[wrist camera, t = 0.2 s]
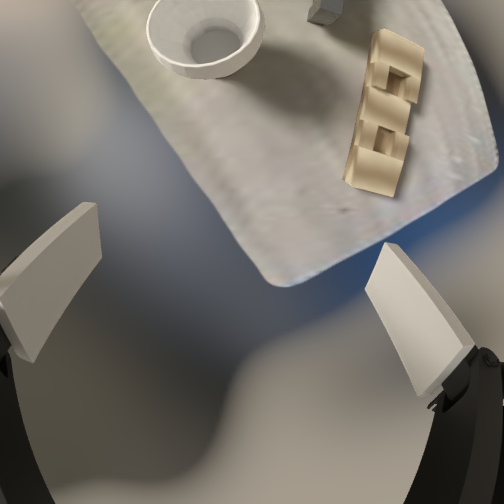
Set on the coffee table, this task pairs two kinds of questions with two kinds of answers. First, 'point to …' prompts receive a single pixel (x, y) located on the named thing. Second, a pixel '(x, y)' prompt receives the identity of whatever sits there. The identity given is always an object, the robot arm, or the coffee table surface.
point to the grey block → (325, 11)
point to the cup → (205, 35)
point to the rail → (384, 113)
